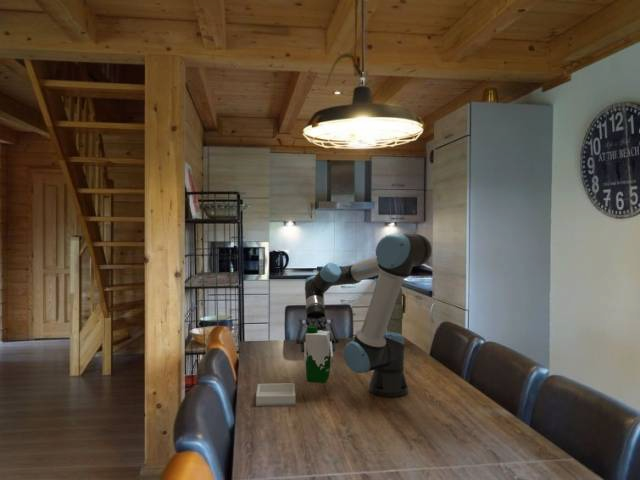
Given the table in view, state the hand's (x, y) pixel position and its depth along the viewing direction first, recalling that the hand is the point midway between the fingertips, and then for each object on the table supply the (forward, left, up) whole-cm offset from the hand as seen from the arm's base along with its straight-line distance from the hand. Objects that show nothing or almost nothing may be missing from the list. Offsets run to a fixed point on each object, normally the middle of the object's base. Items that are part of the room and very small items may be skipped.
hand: (318, 358), depth 171 cm
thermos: (-46, -71, -15) cm, 86 cm away
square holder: (+16, -2, -15) cm, 22 cm away
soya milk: (0, -3, -9) cm, 10 cm away
